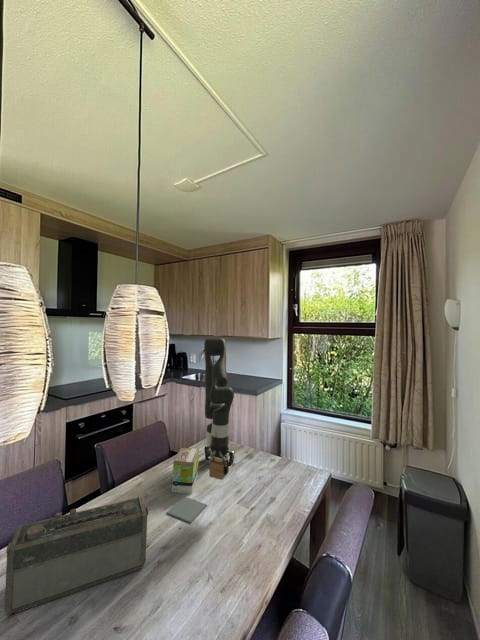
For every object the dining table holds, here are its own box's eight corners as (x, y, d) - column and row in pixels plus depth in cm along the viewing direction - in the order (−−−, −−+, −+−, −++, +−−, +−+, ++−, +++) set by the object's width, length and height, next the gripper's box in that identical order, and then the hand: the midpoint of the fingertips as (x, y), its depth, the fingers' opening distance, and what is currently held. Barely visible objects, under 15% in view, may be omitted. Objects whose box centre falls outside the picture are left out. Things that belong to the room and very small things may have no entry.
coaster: (184, 497, 127) (184, 496, 127) (206, 505, 121) (206, 504, 121) (166, 513, 116) (166, 512, 116) (190, 523, 111) (190, 521, 111)
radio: (-2, 622, 73) (1, 545, 73) (12, 577, 85) (15, 511, 86) (148, 568, 90) (151, 506, 90) (142, 537, 103) (144, 483, 103)
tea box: (192, 494, 130) (193, 462, 130) (171, 492, 130) (172, 460, 130) (198, 476, 145) (199, 447, 145) (178, 475, 145) (180, 446, 145)
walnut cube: (215, 469, 124) (216, 456, 124) (228, 473, 122) (228, 459, 122) (209, 476, 119) (209, 462, 119) (221, 479, 116) (222, 465, 116)
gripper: (238, 433, 121) (237, 472, 121) (209, 427, 127) (208, 464, 127) (231, 440, 114) (230, 481, 114) (201, 433, 120) (199, 472, 120)
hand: (218, 472), depth 120 cm, fingers closed on walnut cube, 6 cm apart
